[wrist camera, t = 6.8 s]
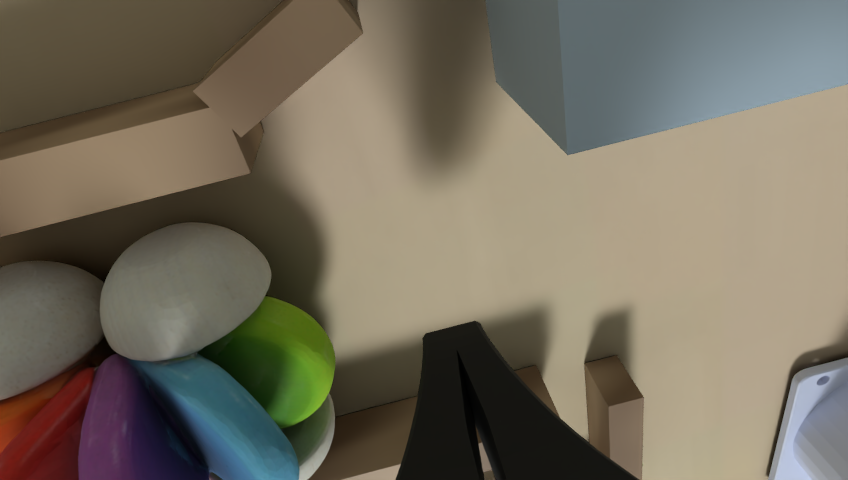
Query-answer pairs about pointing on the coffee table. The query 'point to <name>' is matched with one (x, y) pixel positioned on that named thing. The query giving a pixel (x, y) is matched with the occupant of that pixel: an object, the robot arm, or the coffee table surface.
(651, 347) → the coffee table surface
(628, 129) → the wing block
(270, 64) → the frame
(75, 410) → the rainbow fan toy
